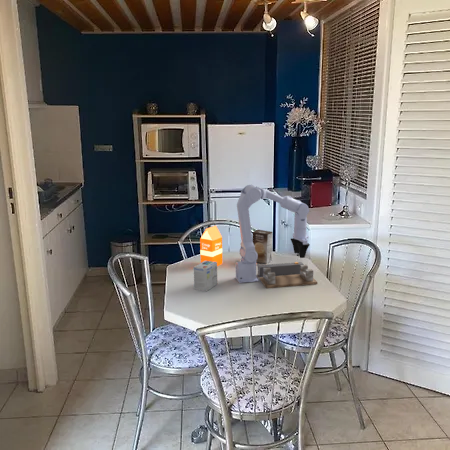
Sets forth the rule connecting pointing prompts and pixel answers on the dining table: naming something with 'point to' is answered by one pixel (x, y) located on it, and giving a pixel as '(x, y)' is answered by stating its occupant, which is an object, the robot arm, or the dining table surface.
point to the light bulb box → (205, 275)
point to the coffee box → (263, 245)
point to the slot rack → (287, 278)
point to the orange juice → (211, 245)
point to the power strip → (281, 268)
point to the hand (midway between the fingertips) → (299, 255)
